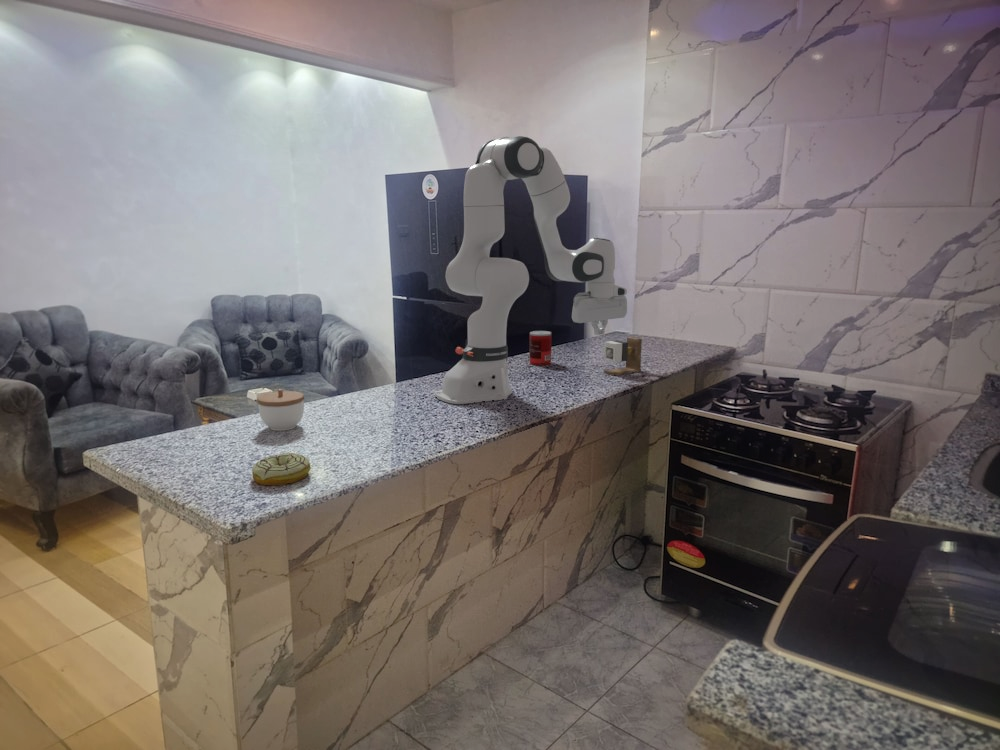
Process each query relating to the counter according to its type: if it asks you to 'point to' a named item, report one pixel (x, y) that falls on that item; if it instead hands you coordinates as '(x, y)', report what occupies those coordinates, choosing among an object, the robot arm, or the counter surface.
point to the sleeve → (616, 351)
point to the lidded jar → (281, 409)
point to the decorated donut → (281, 469)
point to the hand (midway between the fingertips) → (599, 334)
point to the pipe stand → (629, 357)
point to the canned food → (540, 347)
